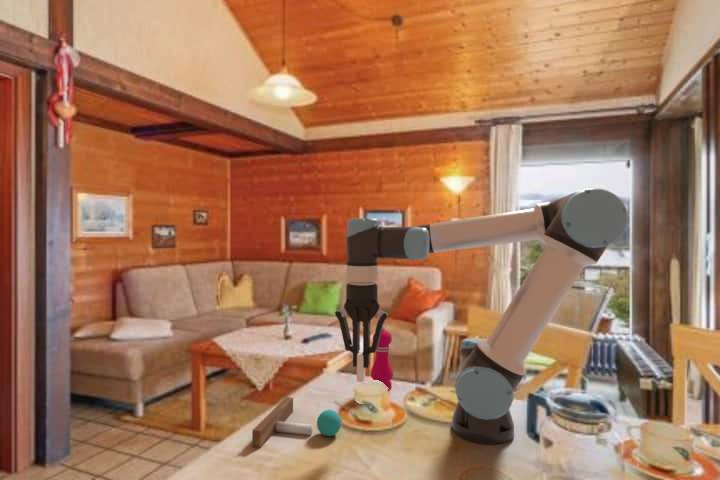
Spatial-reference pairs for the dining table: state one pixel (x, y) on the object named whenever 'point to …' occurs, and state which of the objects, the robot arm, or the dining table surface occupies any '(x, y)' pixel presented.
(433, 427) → the dining table surface
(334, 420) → the ball
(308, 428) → the pin
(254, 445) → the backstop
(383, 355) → the pepper mill
